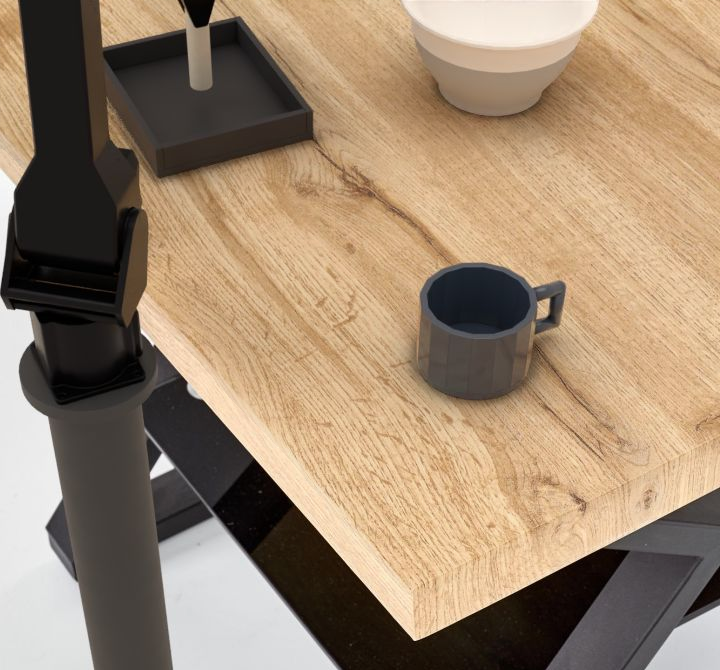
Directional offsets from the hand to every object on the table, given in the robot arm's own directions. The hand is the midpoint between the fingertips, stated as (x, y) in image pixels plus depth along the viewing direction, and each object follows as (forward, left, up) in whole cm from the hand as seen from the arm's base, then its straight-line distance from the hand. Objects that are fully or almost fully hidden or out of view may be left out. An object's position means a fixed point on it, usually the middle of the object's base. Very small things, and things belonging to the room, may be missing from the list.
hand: (196, 19), depth 123 cm
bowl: (+23, -7, -8) cm, 25 cm away
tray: (0, 0, -8) cm, 8 cm away
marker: (0, 0, -6) cm, 6 cm away
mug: (+7, -36, -8) cm, 38 cm away
